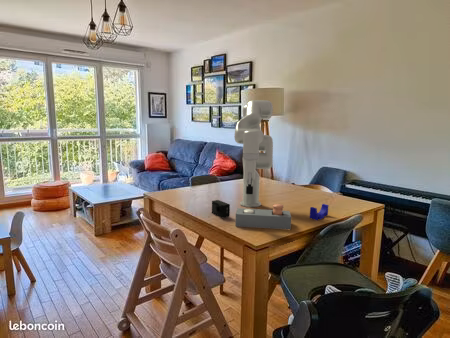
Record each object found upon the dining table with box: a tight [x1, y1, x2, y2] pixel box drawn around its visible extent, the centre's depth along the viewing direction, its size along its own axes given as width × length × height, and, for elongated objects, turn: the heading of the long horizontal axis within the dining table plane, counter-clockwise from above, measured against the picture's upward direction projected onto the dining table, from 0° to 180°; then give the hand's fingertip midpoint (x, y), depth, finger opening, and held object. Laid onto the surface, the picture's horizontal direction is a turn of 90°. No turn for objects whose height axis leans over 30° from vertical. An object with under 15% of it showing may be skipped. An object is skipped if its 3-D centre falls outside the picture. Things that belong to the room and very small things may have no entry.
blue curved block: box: [309, 203, 329, 221], centre depth 161 cm, size 12×4×6 cm, turn 128°
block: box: [234, 207, 292, 231], centre depth 148 cm, size 10×26×6 cm, turn 83°
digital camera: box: [211, 199, 231, 219], centre depth 161 cm, size 10×5×7 cm, turn 37°
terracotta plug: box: [272, 203, 284, 215], centre depth 147 cm, size 5×5×6 cm
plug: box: [244, 208, 254, 214], centre depth 149 cm, size 5×5×6 cm
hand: (249, 193), depth 148 cm, fingers closed
